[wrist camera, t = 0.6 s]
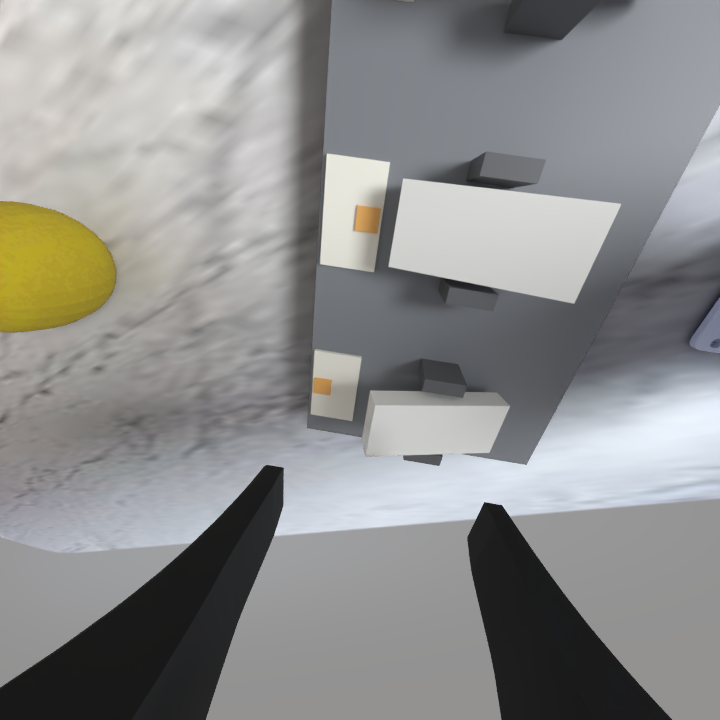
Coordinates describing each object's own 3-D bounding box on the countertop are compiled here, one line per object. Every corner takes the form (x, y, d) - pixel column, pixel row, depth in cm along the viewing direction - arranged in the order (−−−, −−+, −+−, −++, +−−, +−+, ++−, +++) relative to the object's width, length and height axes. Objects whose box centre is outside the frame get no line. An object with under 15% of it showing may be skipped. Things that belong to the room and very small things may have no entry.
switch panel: (821, -185, 9) (1128, -466, 5) (514, 442, 20) (541, 494, 17) (359, -231, 9) (336, -522, 6) (314, 409, 21) (297, 452, 17)
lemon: (137, 319, 19) (-14, 385, 12) (49, 267, 18) (-172, 306, 11) (161, 243, 17) (-9, 270, 10) (62, 178, 16) (-210, 155, 9)
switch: (496, 392, 16) (510, 405, 15) (478, 437, 18) (489, 452, 16) (370, 390, 15) (375, 405, 14) (361, 439, 16) (365, 456, 15)
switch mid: (607, 205, 10) (621, 203, 9) (566, 296, 12) (574, 303, 11) (410, 181, 12) (403, 178, 11) (395, 263, 14) (388, 266, 13)
